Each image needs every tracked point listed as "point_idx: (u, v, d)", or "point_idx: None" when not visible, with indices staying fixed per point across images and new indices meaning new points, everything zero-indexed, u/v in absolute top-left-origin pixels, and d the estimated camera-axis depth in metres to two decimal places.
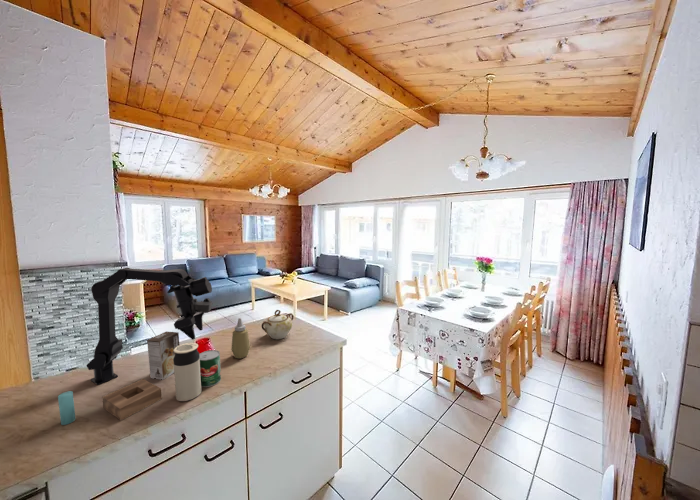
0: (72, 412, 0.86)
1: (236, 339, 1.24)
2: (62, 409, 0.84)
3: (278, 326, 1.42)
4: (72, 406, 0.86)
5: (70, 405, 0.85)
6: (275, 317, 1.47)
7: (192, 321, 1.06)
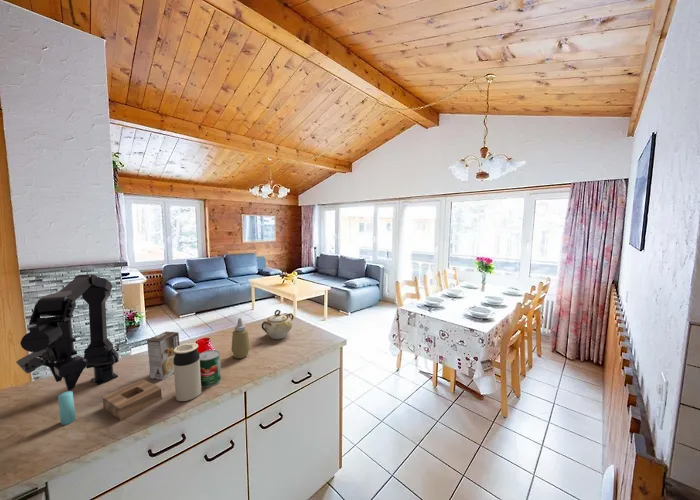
0: (72, 412, 0.86)
1: (236, 339, 1.24)
2: (62, 409, 0.84)
3: (278, 326, 1.42)
4: (72, 406, 0.86)
5: (70, 405, 0.85)
6: (275, 317, 1.47)
7: None
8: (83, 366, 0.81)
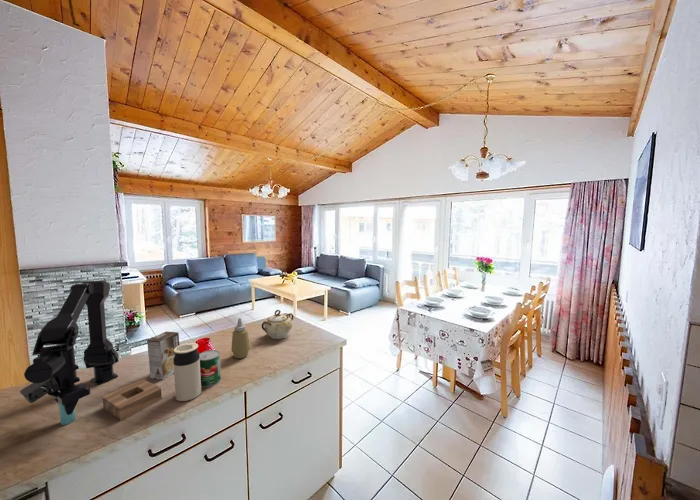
0: None
1: (236, 339, 1.24)
2: (62, 409, 0.84)
3: (278, 326, 1.42)
4: None
5: None
6: (275, 317, 1.47)
7: None
8: (86, 394, 0.82)
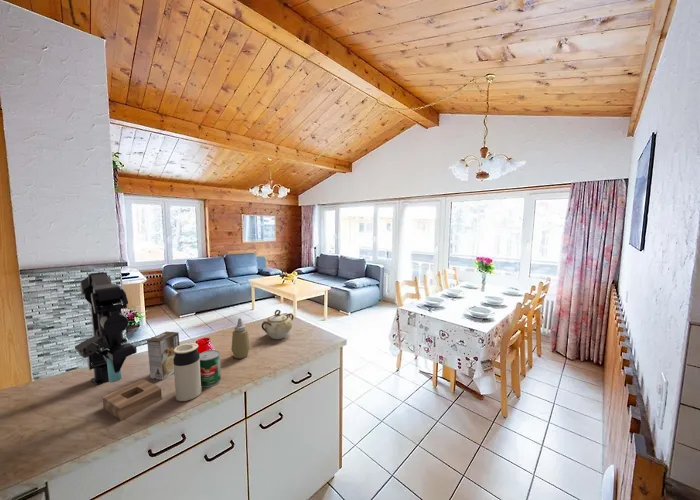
0: (119, 371, 0.91)
1: (236, 339, 1.24)
2: (110, 367, 0.89)
3: (278, 326, 1.42)
4: None
5: None
6: (275, 317, 1.47)
7: None
8: (133, 352, 0.87)
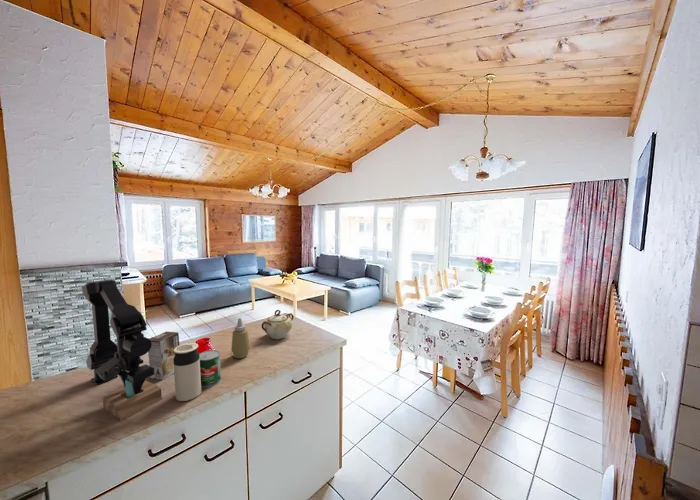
0: None
1: (236, 339, 1.24)
2: (129, 392, 0.92)
3: (278, 326, 1.42)
4: None
5: None
6: (275, 317, 1.47)
7: None
8: (151, 374, 0.91)
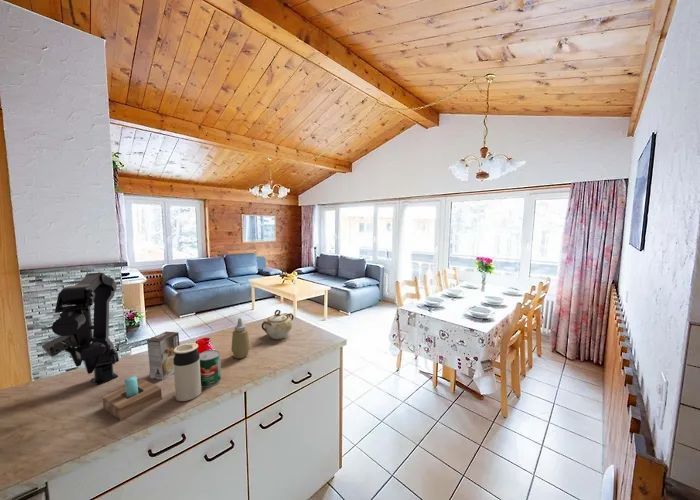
0: None
1: (236, 339, 1.24)
2: (129, 392, 0.92)
3: (278, 326, 1.42)
4: (137, 390, 0.94)
5: (135, 389, 0.93)
6: (275, 317, 1.47)
7: None
8: (102, 351, 0.88)
